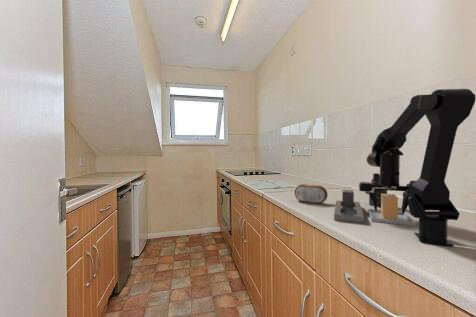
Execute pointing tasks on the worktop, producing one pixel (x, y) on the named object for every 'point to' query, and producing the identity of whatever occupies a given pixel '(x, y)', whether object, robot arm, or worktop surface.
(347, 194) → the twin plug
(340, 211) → the grey slotted frame
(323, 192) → the portable speaker
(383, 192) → the supplement bottle
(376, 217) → the tray
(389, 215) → the orange block
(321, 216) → the worktop surface
